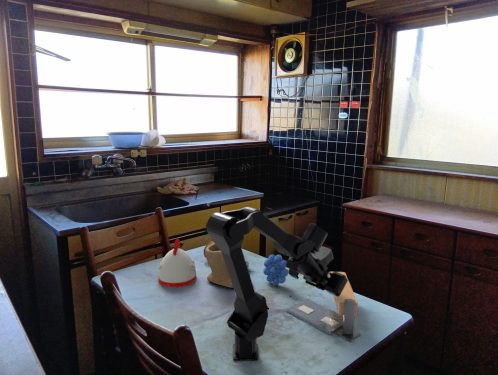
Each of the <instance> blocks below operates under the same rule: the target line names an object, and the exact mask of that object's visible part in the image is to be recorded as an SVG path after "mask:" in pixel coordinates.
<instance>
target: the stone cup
mask: <svg viewBox="0 0 498 375" xmlns="http://www.w3.org/2000/svg"><path fill="white" fill-rule="evenodd" d="M205 256H206V258H205V259H206V262H207V263H208V266H209V268H210V270H211V271H210V272H211V273H209V274H208V275H207V276H206V279H207V281H209V282H211V283H214V284H217V285H220V286H224V287H226V288H230V289H234V288H233V285H232V282H231V279H230V276H229V273H228V270H227V267H226V264H225V261H224V258H223V255H222V252H221V250H220V249H219V248H218V247H217V245H216V244H215V243H213V244H211V245H209V246H208V247H207V248H206V249H205ZM205 256H204V257H205Z"/></svg>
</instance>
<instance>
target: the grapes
mask: <svg viewBox="0 0 498 375" xmlns="http://www.w3.org/2000/svg"><path fill="white" fill-rule="evenodd" d="M267 258H268V259H265V260H264V262H263V266H264V268H263V270H262V271H263V274H264V275H265V276H266V281H267V282H268V283H271V284H273V286H279V284H284V283H285V282H286V281H287V279H286V277H288V276H289V268H287V267H286V263H287V260H284V259H283V257H282V255H281V254H276V255H275V254H270V255H269V256H268V257H267Z"/></svg>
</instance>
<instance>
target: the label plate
mask: <svg viewBox="0 0 498 375" xmlns="http://www.w3.org/2000/svg"><path fill="white" fill-rule="evenodd" d="M285 312H287V313H288V314H290V315H292V316H294V317H295V318H298V319H300V320H301V321H303V322H304V323H307V324H309V325H311V326H312V327H314V328H316V329H319V330H320V331H322V332H324V333H325V334H327V335H329V336H332V335H333V334H335V332H336V331H338V330H339V329H341V328H343V315H339V314H338V312H336V311H334V310H332V309H331V308H328V307H325V306H323V305H321V304H319V303H317V302H315V301H313V300H311V299H309V298H306V299H304V300H302V301H299V302H297V303H295V304H293V305H291V306H288V307H287V308H286V311H285Z"/></svg>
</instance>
